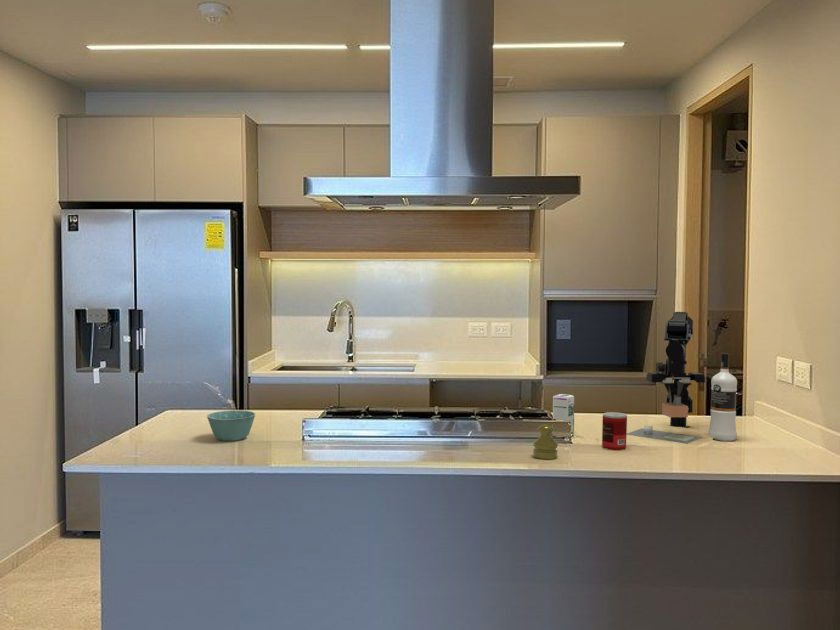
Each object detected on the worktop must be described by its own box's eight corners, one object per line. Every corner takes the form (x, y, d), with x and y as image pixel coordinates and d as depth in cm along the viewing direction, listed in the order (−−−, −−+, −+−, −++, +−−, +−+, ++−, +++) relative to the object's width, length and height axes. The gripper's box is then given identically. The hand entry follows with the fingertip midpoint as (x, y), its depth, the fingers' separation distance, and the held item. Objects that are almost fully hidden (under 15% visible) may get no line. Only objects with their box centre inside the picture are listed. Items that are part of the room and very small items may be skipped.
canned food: (628, 446, 245) (628, 413, 245) (623, 451, 238) (624, 417, 238) (604, 443, 249) (605, 411, 248) (599, 448, 241) (600, 415, 241)
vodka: (742, 440, 257) (745, 354, 255) (722, 442, 253) (725, 354, 252) (722, 435, 265) (725, 351, 264) (702, 437, 262) (704, 352, 260)
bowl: (220, 446, 238) (220, 420, 238) (199, 437, 250) (198, 413, 250) (263, 439, 248) (264, 415, 248) (241, 432, 260) (241, 408, 260)
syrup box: (567, 438, 256) (568, 396, 255) (551, 436, 259) (552, 395, 259) (574, 436, 261) (575, 394, 260) (558, 433, 264) (559, 393, 263)
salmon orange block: (679, 413, 259) (680, 394, 258) (687, 417, 252) (688, 397, 252) (662, 413, 258) (662, 394, 258) (669, 417, 252) (669, 397, 252)
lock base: (641, 431, 271) (641, 421, 271) (702, 440, 257) (702, 430, 257) (624, 437, 260) (625, 427, 260) (687, 446, 246) (687, 436, 246)
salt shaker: (531, 453, 233) (532, 422, 232) (555, 454, 233) (556, 422, 232) (534, 459, 226) (535, 426, 225) (559, 460, 225) (559, 427, 225)
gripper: (692, 355, 263) (691, 398, 264) (641, 354, 262) (640, 398, 263) (706, 358, 252) (705, 404, 253) (653, 357, 251) (651, 403, 252)
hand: (675, 402), depth 255 cm, fingers closed on salmon orange block
